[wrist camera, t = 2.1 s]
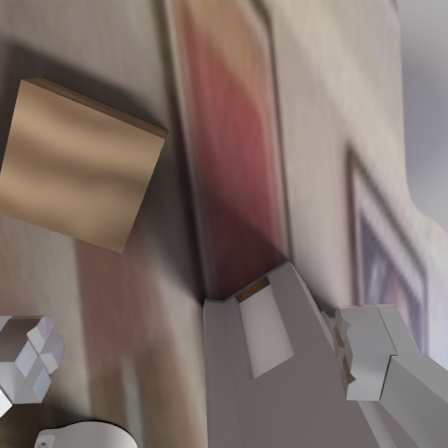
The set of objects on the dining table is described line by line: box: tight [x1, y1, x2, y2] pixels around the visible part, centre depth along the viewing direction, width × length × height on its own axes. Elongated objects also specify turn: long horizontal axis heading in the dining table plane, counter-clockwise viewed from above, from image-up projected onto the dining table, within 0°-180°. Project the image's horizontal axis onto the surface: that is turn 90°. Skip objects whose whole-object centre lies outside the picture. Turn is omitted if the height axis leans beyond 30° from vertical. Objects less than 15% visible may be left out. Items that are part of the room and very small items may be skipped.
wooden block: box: [0, 77, 168, 254], centre depth 40 cm, size 14×14×5 cm
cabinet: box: [203, 259, 420, 448], centre depth 38 cm, size 21×10×28 cm, turn 78°
